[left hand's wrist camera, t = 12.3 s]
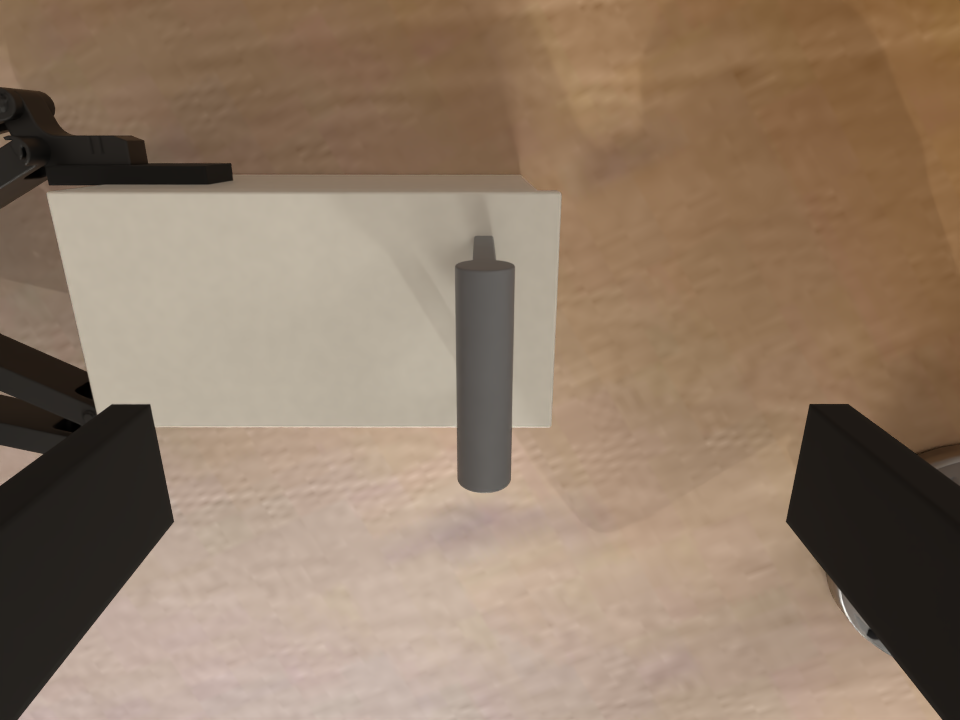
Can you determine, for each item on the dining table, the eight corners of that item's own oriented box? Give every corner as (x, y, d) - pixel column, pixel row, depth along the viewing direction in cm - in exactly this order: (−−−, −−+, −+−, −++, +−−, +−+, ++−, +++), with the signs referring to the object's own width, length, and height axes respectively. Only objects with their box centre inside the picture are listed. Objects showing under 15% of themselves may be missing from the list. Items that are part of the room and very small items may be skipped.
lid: (558, 190, 23) (597, 215, 15) (549, 418, 26) (577, 534, 18) (61, 189, 23) (-148, 214, 15) (112, 418, 26) (-41, 533, 18)
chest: (521, 174, 32) (538, 189, 23) (517, 342, 35) (531, 418, 26) (186, 174, 32) (61, 189, 23) (212, 341, 35) (112, 417, 26)
